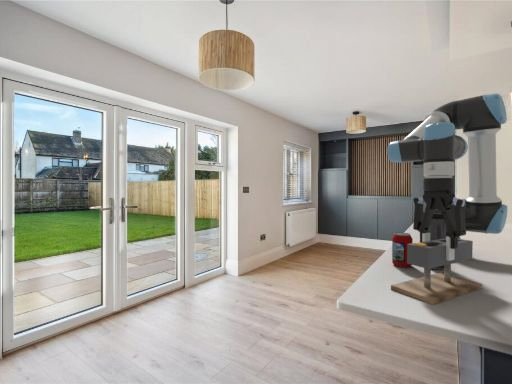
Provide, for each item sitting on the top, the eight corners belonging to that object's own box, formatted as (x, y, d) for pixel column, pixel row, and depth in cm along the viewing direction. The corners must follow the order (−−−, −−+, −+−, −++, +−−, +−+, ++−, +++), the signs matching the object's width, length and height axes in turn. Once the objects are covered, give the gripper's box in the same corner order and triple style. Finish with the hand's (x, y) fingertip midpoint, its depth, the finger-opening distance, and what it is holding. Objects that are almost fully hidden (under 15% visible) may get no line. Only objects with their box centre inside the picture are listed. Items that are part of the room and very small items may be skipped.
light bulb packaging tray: (450, 254, 91) (451, 235, 90) (472, 259, 85) (472, 238, 85) (407, 263, 80) (407, 241, 80) (428, 268, 75) (428, 246, 75)
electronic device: (447, 270, 100) (448, 213, 99) (428, 269, 101) (429, 213, 100) (436, 263, 109) (436, 211, 108) (419, 262, 110) (419, 211, 109)
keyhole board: (439, 276, 93) (439, 250, 93) (482, 288, 82) (482, 259, 82) (390, 289, 82) (390, 260, 82) (433, 304, 71) (433, 271, 71)
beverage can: (388, 263, 109) (388, 232, 109) (405, 262, 109) (405, 232, 109) (398, 268, 102) (398, 235, 102) (416, 267, 103) (416, 235, 102)
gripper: (399, 178, 88) (399, 251, 89) (468, 176, 71) (467, 267, 72) (414, 178, 92) (414, 249, 92) (484, 176, 75) (482, 263, 75)
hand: (437, 257), depth 82 cm, fingers closed on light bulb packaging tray, 6 cm apart
